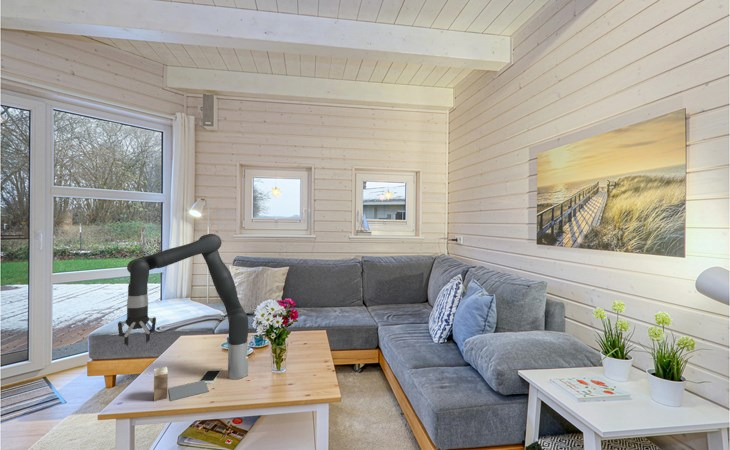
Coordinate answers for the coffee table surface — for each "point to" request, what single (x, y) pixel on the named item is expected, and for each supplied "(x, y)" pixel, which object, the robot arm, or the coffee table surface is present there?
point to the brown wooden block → (160, 383)
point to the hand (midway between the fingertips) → (137, 343)
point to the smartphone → (211, 376)
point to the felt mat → (188, 390)
